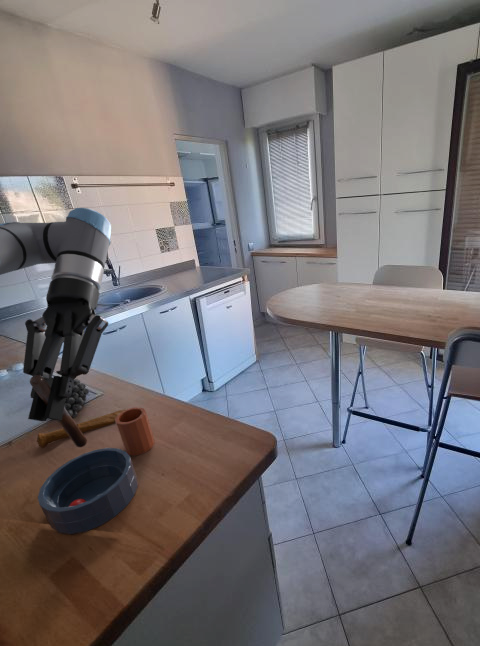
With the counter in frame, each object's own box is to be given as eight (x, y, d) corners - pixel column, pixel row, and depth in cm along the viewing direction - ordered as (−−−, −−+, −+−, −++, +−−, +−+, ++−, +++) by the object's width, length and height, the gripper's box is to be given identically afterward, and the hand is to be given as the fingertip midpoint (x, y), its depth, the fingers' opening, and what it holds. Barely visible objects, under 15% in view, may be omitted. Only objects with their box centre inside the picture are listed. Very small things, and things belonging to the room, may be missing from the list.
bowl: (30, 531, 58) (16, 506, 55) (91, 467, 71) (82, 445, 69) (103, 541, 55) (92, 515, 53) (153, 473, 68) (146, 450, 66)
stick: (75, 449, 59) (24, 381, 49) (80, 441, 60) (32, 372, 50) (85, 449, 59) (36, 380, 49) (90, 440, 60) (43, 372, 50)
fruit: (68, 392, 83) (74, 366, 95) (35, 411, 81) (45, 382, 93) (91, 415, 87) (94, 388, 100) (60, 433, 85) (67, 403, 98)
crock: (120, 456, 73) (108, 423, 70) (137, 438, 79) (126, 406, 75) (144, 458, 72) (133, 425, 69) (160, 439, 78) (150, 407, 74)
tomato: (63, 506, 59) (63, 519, 57) (76, 493, 59) (77, 505, 57) (78, 511, 61) (79, 523, 59) (91, 497, 61) (92, 509, 59)
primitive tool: (126, 410, 90) (122, 399, 88) (130, 420, 86) (127, 408, 84) (40, 443, 80) (34, 431, 78) (40, 456, 75) (34, 444, 74)
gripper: (127, 294, 63) (106, 420, 55) (51, 298, 64) (18, 425, 55) (104, 272, 56) (76, 413, 48) (18, 278, 57) (-25, 418, 48)
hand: (45, 419), depth 51 cm, fingers closed on stick, 2 cm apart
